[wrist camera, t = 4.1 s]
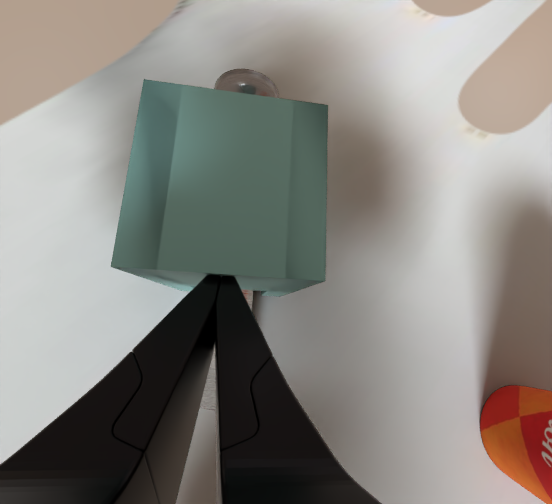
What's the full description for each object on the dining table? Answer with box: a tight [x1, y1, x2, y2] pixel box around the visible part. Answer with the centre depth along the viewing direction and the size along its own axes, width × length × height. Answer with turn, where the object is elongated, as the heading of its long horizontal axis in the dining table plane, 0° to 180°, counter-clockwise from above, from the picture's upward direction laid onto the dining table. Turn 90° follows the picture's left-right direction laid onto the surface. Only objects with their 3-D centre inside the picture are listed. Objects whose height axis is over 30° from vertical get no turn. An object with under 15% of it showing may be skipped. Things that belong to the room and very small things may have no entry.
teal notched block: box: [111, 79, 328, 296], centre depth 13 cm, size 6×6×10 cm
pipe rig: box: [200, 69, 279, 410], centre depth 16 cm, size 18×11×5 cm, turn 177°
